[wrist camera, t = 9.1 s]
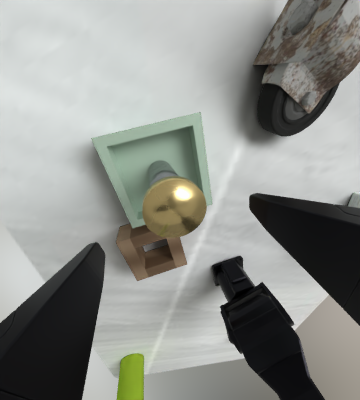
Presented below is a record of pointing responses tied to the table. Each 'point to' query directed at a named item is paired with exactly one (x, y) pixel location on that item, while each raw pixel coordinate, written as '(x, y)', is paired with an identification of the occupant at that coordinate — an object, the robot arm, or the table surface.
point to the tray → (153, 159)
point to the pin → (171, 202)
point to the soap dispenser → (131, 378)
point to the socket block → (151, 260)
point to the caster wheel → (306, 61)
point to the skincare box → (355, 200)
